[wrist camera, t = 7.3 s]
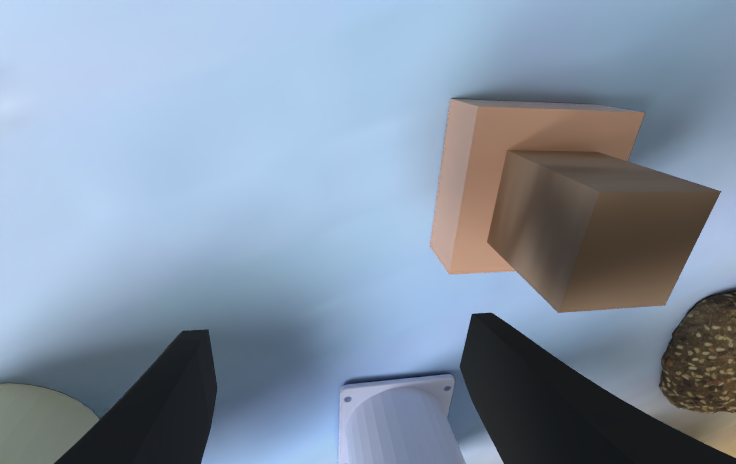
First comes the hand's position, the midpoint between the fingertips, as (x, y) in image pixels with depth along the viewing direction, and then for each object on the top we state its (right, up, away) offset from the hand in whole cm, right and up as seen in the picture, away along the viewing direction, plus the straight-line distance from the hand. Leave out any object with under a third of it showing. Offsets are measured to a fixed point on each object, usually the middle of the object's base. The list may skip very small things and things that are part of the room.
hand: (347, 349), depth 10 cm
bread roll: (+30, -6, +20) cm, 37 cm away
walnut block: (+9, +5, +7) cm, 12 cm away
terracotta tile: (+8, +6, +10) cm, 14 cm away
